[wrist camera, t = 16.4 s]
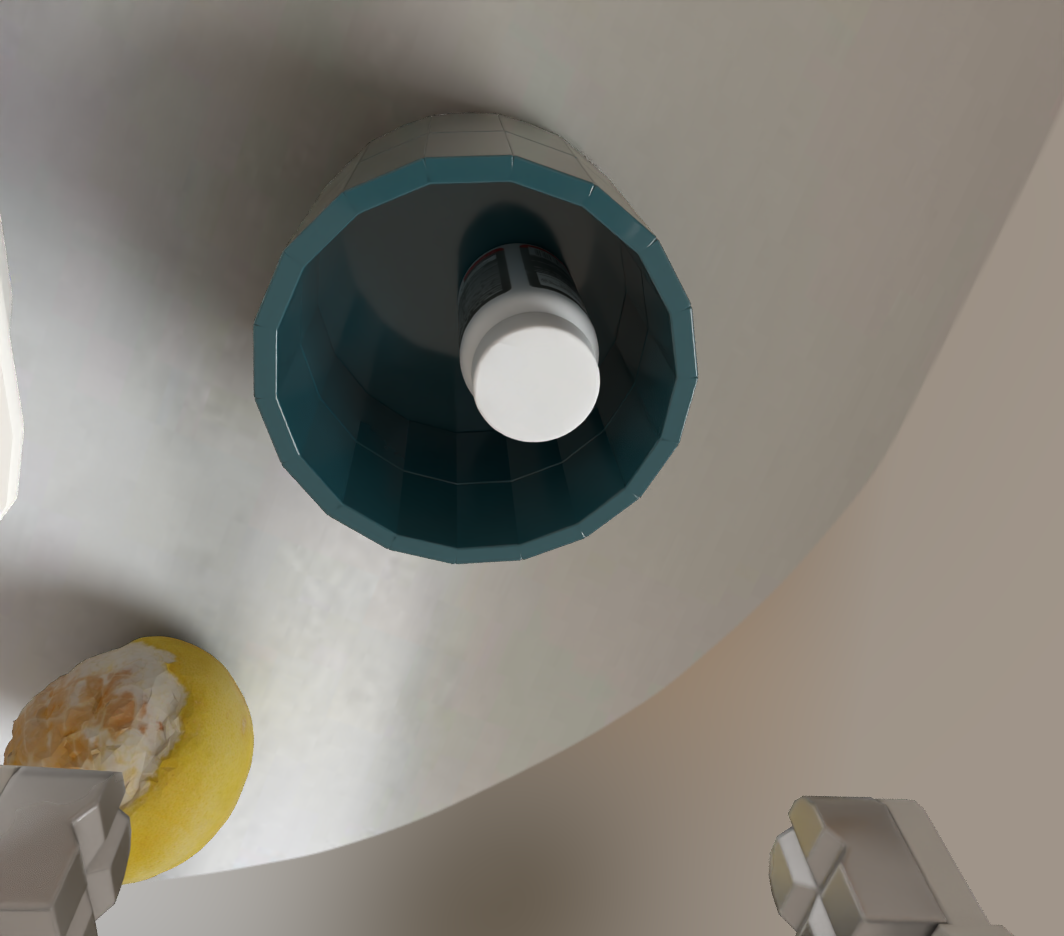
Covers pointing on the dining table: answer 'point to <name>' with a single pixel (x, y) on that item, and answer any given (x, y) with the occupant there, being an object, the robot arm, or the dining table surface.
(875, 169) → the dining table surface
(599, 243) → the enamel pot
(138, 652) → the fruit
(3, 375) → the baking dish
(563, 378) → the pill bottle
